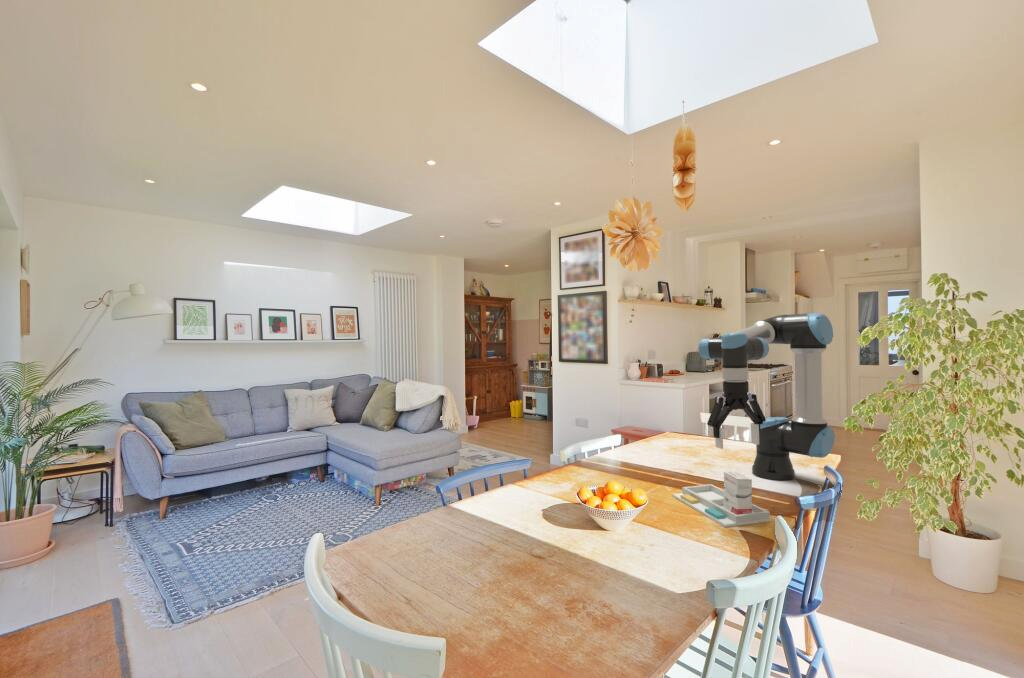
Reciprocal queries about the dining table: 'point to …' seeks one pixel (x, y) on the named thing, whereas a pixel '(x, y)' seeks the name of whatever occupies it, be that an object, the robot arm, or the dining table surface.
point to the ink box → (737, 493)
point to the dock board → (718, 506)
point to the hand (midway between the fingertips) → (737, 445)
